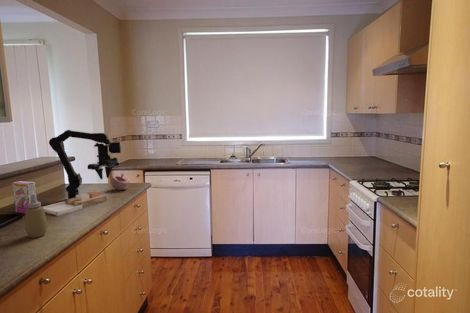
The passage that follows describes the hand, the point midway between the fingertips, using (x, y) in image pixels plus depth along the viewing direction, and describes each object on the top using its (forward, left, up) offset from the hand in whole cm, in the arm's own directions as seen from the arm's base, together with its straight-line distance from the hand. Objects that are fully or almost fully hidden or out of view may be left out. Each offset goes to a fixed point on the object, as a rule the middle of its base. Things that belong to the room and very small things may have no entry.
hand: (104, 178), depth 191 cm
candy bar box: (-12, -40, -12) cm, 44 cm away
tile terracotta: (0, -8, -9) cm, 12 cm away
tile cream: (0, -15, -9) cm, 18 cm away
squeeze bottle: (+26, -55, -12) cm, 62 cm away
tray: (0, -28, -12) cm, 31 cm away
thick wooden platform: (0, -13, -12) cm, 18 cm away
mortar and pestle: (-8, +18, -12) cm, 23 cm away
